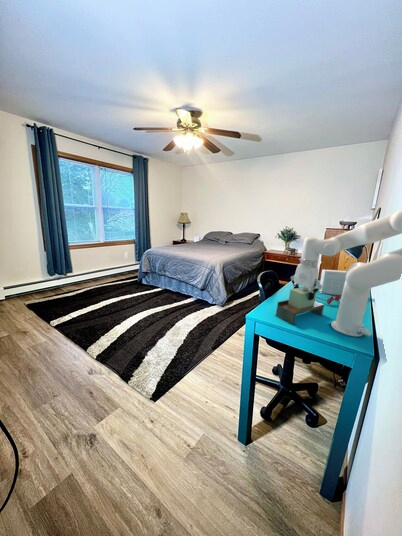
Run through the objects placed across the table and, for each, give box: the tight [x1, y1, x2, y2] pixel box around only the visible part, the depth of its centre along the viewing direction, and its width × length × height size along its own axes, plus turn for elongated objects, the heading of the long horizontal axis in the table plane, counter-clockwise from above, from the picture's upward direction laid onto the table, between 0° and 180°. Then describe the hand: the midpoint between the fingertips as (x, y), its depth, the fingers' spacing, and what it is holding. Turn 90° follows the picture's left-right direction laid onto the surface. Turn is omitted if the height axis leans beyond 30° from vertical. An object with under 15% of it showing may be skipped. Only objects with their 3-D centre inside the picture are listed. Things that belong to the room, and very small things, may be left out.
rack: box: [275, 298, 325, 325], centre depth 111 cm, size 10×24×8 cm, turn 120°
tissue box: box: [288, 286, 318, 309], centre depth 109 cm, size 6×12×9 cm, turn 120°
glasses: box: [316, 291, 341, 305], centre depth 136 cm, size 14×16×5 cm
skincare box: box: [318, 269, 347, 296], centre depth 146 cm, size 21×5×16 cm, turn 84°
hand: (302, 296), depth 109 cm, fingers open, 8 cm apart
